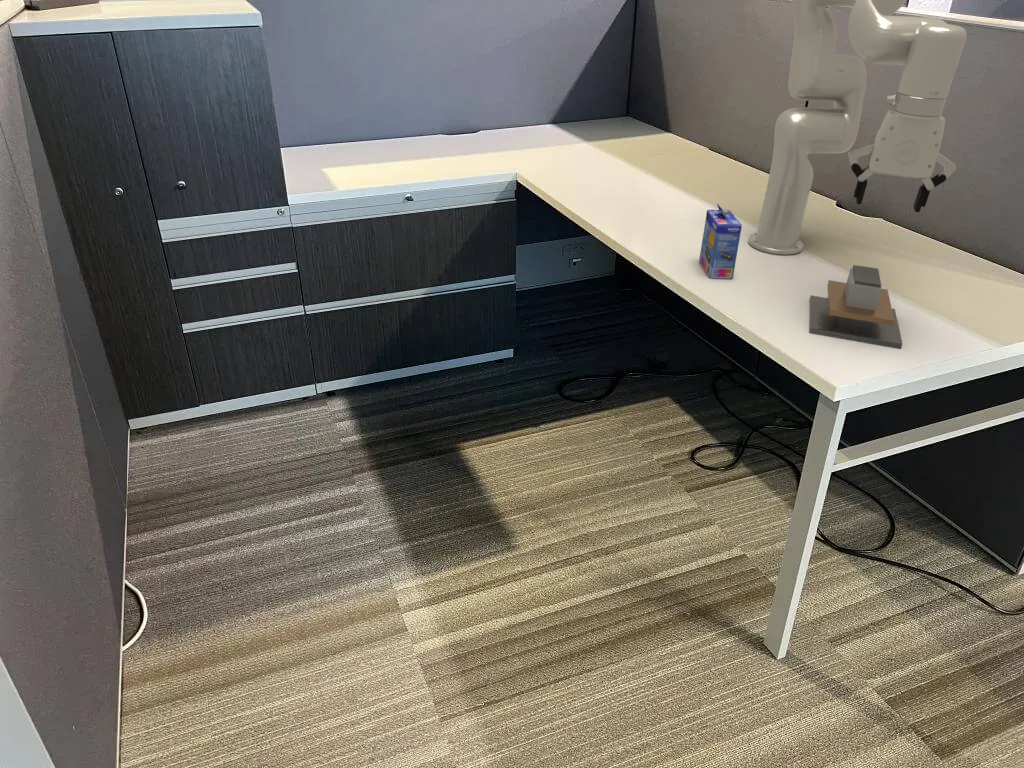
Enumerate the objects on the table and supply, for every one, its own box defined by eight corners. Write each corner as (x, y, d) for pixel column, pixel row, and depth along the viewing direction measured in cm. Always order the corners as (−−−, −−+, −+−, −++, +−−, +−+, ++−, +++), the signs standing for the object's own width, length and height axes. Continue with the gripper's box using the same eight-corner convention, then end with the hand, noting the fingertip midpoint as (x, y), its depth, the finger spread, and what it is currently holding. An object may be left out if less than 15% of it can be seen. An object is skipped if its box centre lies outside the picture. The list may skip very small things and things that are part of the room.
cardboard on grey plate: (809, 299, 156) (815, 277, 153) (893, 313, 152) (901, 290, 149) (809, 332, 143) (815, 308, 140) (901, 348, 139) (909, 324, 136)
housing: (846, 305, 142) (853, 281, 139) (844, 287, 149) (851, 264, 147) (875, 310, 141) (883, 285, 138) (872, 292, 148) (879, 268, 145)
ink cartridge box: (696, 261, 172) (708, 198, 164) (720, 262, 172) (733, 199, 165) (707, 278, 163) (720, 213, 156) (733, 279, 164) (746, 214, 156)
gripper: (864, 104, 126) (836, 205, 135) (979, 116, 122) (942, 220, 131) (862, 96, 132) (835, 193, 141) (971, 107, 128) (937, 206, 137)
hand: (887, 205), depth 136 cm, fingers open, 9 cm apart
